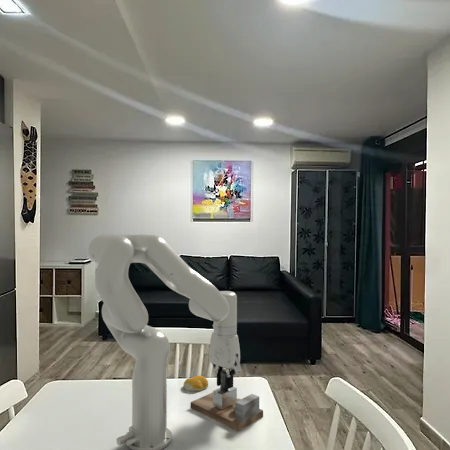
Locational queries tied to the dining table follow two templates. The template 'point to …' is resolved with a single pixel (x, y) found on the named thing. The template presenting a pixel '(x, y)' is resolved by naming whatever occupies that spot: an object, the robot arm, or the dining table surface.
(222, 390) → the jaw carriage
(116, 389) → the dining table surface
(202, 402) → the base
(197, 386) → the bread roll
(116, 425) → the dining table surface
